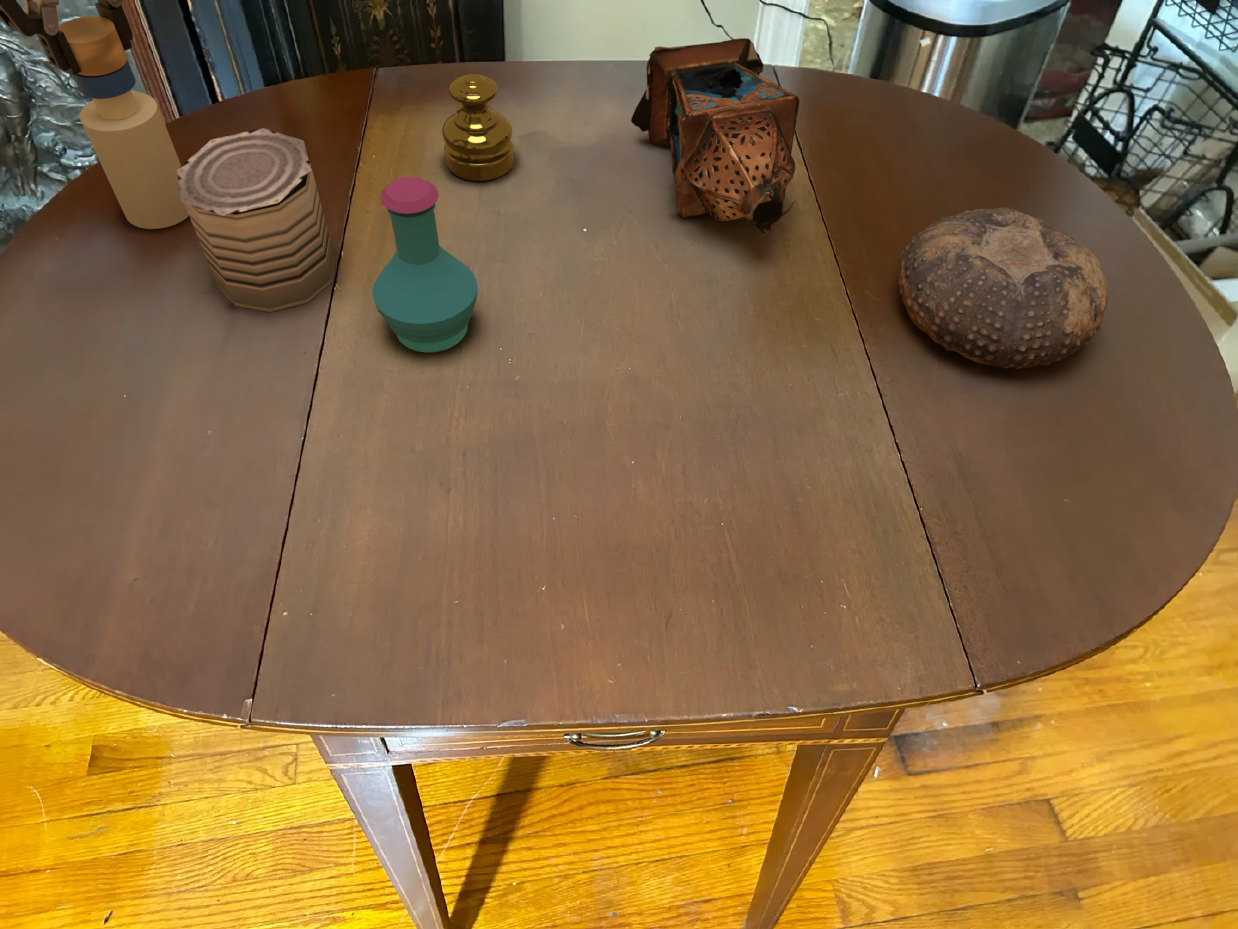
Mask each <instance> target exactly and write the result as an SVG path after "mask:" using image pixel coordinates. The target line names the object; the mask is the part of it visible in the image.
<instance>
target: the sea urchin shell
mask: <svg viewBox="0 0 1238 929" xmlns="http://www.w3.org/2000/svg"><path fill="white" fill-rule="evenodd" d="M898 261H899V262H898V266H899V272H898V287H899V294H900V296H901V301H902V303H903V305H904V307H905V308H906V312H907V315H908V317H909V319H910V321H912V323H913V325H915V326H917V328H918V329H919V330H921V331H922V332H924V333H925V334H927V335H928V337H929V338H930V339H931V340H932V341H933V342H934V343H936V344H938V345H940V346H942V347H943V349H945V351H949V352H951V351H952V352H955V353H957V354H959V355H961V356H962V357H963V358H966V359H969V360H971V361H972V362H975V363H978V364H982V365H986V366H994V367H998V368H1004V369H1016V370H1020V369H1026V368H1032V367H1034V366H1049V365H1051V364H1053V363H1055V362H1058V361H1062V360H1065V359H1066V358H1068V357H1069V356H1071V355H1073V354H1074V353H1075V352H1077V351H1078V350H1079V349H1081V348H1083V347H1085V346H1087V344H1088V343H1089V342H1091V341H1092V338H1093V337H1094V335H1096V334H1097V333H1098V332H1099V330H1100V329H1101V325H1102V323H1103V322H1102V321H1103V318H1104V315H1105V312H1106V310H1107V307H1108V303H1109V296H1108V289H1109V288H1108V282H1107V279H1106V277H1105V276H1104V275H1105V274H1104V272H1103V267H1102V265H1101V262H1100V260H1099V259H1098V258H1097V257H1096V255H1095V254H1094V252H1093V251H1092V250H1091V249H1090V248H1089V246H1087V245H1085V244H1083V243H1081V242H1080V241H1079V240H1077V239H1076V238H1074V237H1073V236H1071V235H1070V234H1068V232H1067V231H1062V230H1060V229H1057V228H1055V227H1052V226H1051V225H1050V224H1049V223H1047V222H1045V221H1043V219H1041V218H1039V217H1035V216H1033V215H1031V214H1026V213H1023V212H1020V211H1018V210H1017V209H1014V208H1009V207H997V208H980V209H977V208H975V209H974V210H965V211H964V212H960V213H958V214H955V215H950V216H947V217H946V216H945V217H941V218H940V219H939V220H937V221H935V222H934V223H931V224H929V225H928V226H927V227H926V228H924V230H923V231H921V232H919V233H918V234H916V235H914V236H912V237H911V238H910V241H909V242H908V243H907V244H906V246H905V247H904V249H903V250H902V251H901V253H900V257H899V260H898Z"/></svg>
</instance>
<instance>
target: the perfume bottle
mask: <svg viewBox="0 0 1238 929" xmlns="http://www.w3.org/2000/svg"><path fill="white" fill-rule="evenodd" d="M379 198H380V199H379V200H380V202H381V204H382V206H383V207H384V208H386V211H387V212H388V214H389V216H390V219H391V220H390V221H391V226H392V231H393V237H394V242H395V247H396V252H395V253H394V254H393V255H392V257H391V259H390V260H389V261H388V262H387V263H386V265H385V266H383V269H382V270H381V271H380V273H379V274H378V275H377V277H376V278H375V281H374V283H373V286H372V290H371V291H372V292H371V293H372V299H373V302H374V304H375V307H376V310H377V312H378V313H379V315H380V316H381V317H382V319H383V320H384V322H385V324H387V325H388V326H389V328H390V329H391V330H392V332H393V333H394V334H395V335H396V338H397V339H398V341H399V342H400V343H401V344H402V345H403V346H404V347H406V348H407V349H409V350H412V351H415V352H419V353H439V352H443V351H446V350H448V349H451V348H452V347H454V346H455V345H457V344H459V343H460V342H461V341H462V340H463V339H464V337H465V336H466V334H467V331H468V327H469V325H468V324H469V323H470V321H471V317H472V313H473V311H474V309H475V306H476V303H477V298H478V281H477V277H476V276H475V273H474V272H473V271H472V270H471V268H470V267H468V266H467V265H466V264H465V263H463V262H462V261H461V260H460V259H458V258H457V257H455V256H454V255H453V254H451V253H450V252H448V251H447V250H446V249H444V248H443V247H442V246H441V245H440V241H439V235H438V229H437V222H436V215H435V209H436V203H437V201H438V199H439V190H438V188H437V187H436V185H434V184H433V183H431V182H429V180H425V179H424V178H422V177H417V176H412V175H411V176H402V177H397V178H396V179H394V180H392V181H391V182H389V183H388V184H387V185H386V186H385V187H384V188H383V189H382V191H381V193H380V196H379Z"/></svg>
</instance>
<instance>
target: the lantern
mask: <svg viewBox="0 0 1238 929" xmlns="http://www.w3.org/2000/svg"><path fill="white" fill-rule="evenodd" d="M648 56H649V58H648V61H647V62H646V90H645V91H644V93H643V95H642V96H641V98H640V99H639V102H638V104H637V105H636V107H635V109H634V111H633V114H632V116H631V119H630V123H632V124H633V125H634V127H637V128H639V129H640V130H641V132H642V133H644V135H645V136H646V137H647V138H648V141H649V143H651V144H653V145H654V144H659V143H663V142H670V153H671V161H672V162H671V163H672V167H671V168H672V174H673V182H674V190H675V202H676V212H677V215H679V216H681V217H682V218H687V217H692V216H693V217H694V216H702V215H707V214H708V215H709V216H710V217H711V218H712V219H713V220H717V221H720V222H729V221H735V220H739V219H746V220H748V221H749V222H750V224H751V225H753V226H754V227H755V228H756V229H757V230H759V231H760V232H761V233H762V234H768V233H770V232H771V231H772V230H771V229H772V226H773V225H774V224H775V223H777V222H779V220H780V219H781V218H782V217H784V216H785V215H786V214H787V213H788V212H789V211H790V210H791V209H792V208H793V206H794V204H796V202H797V200H794V201H792V202H791V204H790V206H788V207H787V209H785V210H784V200H785V197H786V192H787V191H786V189H787V187H788V185H789V184H790V182H791V181H792V180H793V178H794V174H795V172H796V162H795V159H794V158H793V155H792V153H793V146H794V138H795V132H796V127H797V121H798V115H799V109H800V103H801V101H800V99H799V96H798V95H796V94H794V93H792V92H791V91H789V90H787V89H785V88H784V87H783V86H780V85H778V84H777V83H775V82H773V81H771V80H769V79H767V78H765V77H763V76H761V75H760V74H762V73H763V71H764V62H763V61H762V58H761V57H760V54H759V53H758V52H757V50H756V47H755V44H754V42H753V41H751V39H750V38H745V37H741V38H739V37H738V38H734V39H729V40H728V39H727V40H723V41H718V42H708V43H707V42H706V43H699V44H698V43H697V44H690V45H677V46H671V47H669V46H662V45H659V46H655V47H654V49H653V50H652V51H651V52H650V53H649V55H648Z"/></svg>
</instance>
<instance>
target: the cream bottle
mask: <svg viewBox="0 0 1238 929" xmlns="http://www.w3.org/2000/svg"><path fill="white" fill-rule="evenodd" d="M72 77H73V80H74V81H75V83H76V86H77V88H78V90H79V92H80V94H82V95H83V96H85V97H86V98H90V99H92V100H91V101H89V102H88V103H86V104H85V105H84V106H83V107H82V108H81V110H80V113H79V120H80V122H81V124H82V126H83V128H84V131H85V133H86V136H87V137H88V139H89V142H90V144H91V146H92V149H93V150H94V152H95V155H96V156H97V159H98V161H99V163H100V165H101V167H102V169H103V172H104V174H105V176H106V178H107V180H108V182H109V184H110V187H111V189H112V191H113V193H114V195H115V197H116V200H117V201H118V204H119V206H120V208H121V211H122V212H123V215H124V217H125V219H126V220H127V222H128V223H130V224H131V225H133V226H134V227H136V228H139V229H146V230H160V229H165V228H169V227H172V226H175V225H177V224H179V223H181V222H183V221H185V220H186V219H188V218H189V214H188V212H187V209H186V207H185V204H184V203H183V202H181V199H180V192H179V182H178V174H177V169H178V168H179V167H181V166H182V164H181V162H180V159H179V156H178V154H177V152H176V149H175V147H174V144H173V141H172V138H171V135H170V133H169V131H168V128H167V126H166V123H165V121H164V118H163V115H162V113H161V110H160V108H159V104H158V102H157V101H156V100H155V99H154V98H153V97H152V96H151V95H149V94H147V93H143V92H141V91H132V89H133V88H134V87H135V86H136V81H137V80H136V77H135V75H134V72H133V70H132V68H131V65H130V62H129V60H128V59H127V62H126V64H125V65H124V66H123V67H122V68H120V69H118V70H116V71H114V72H112V73H109V74H105V75H99V76H84V75H79V74H76V75H73V76H72Z"/></svg>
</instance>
